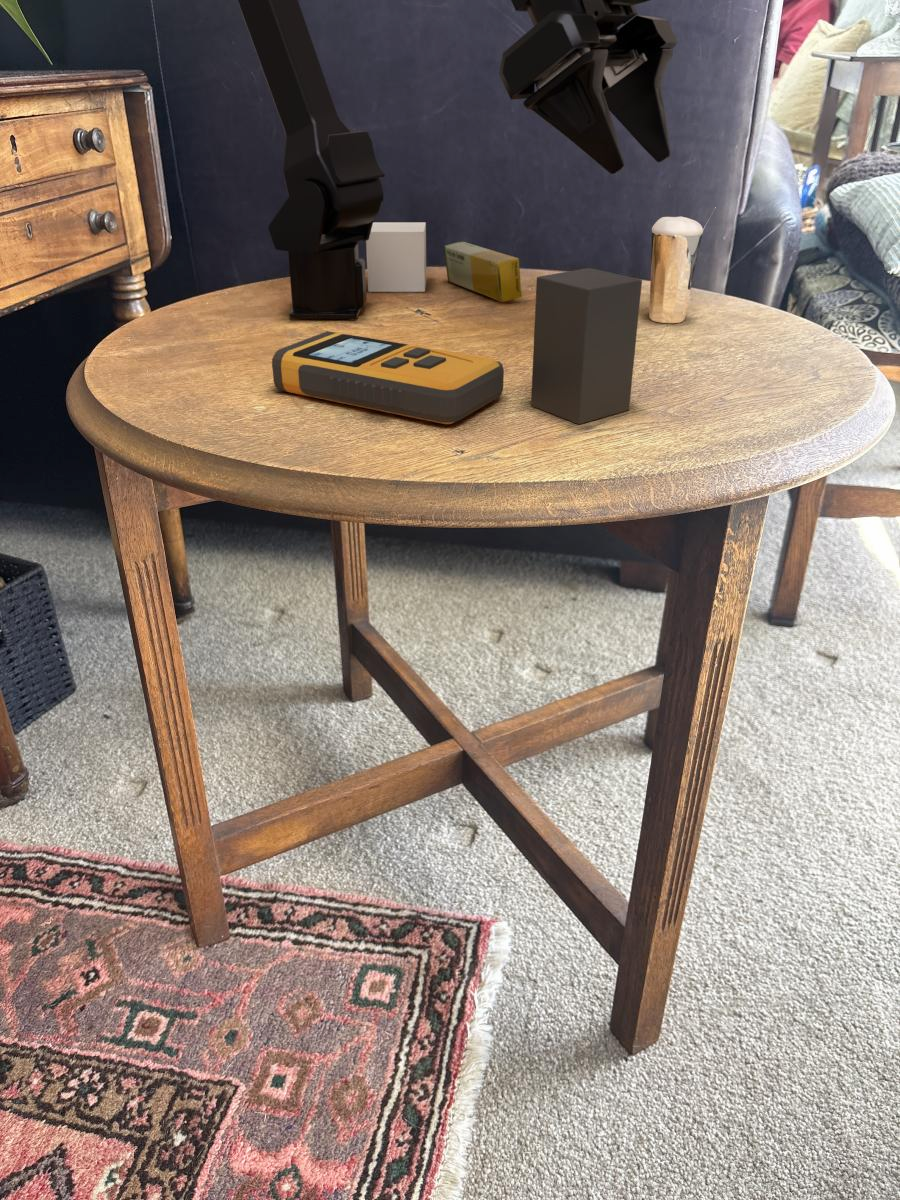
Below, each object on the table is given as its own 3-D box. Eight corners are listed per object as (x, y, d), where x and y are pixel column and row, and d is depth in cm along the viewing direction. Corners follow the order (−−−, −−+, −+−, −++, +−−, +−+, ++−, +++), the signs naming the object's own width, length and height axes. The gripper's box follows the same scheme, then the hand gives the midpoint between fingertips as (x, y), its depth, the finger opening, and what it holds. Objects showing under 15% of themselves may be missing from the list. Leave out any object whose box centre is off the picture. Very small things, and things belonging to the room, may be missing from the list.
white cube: (368, 292, 99) (365, 231, 96) (372, 279, 104) (369, 222, 101) (425, 291, 99) (424, 231, 96) (426, 279, 104) (425, 222, 101)
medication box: (445, 282, 103) (441, 244, 101) (467, 277, 104) (463, 240, 102) (500, 303, 94) (497, 261, 92) (523, 297, 95) (521, 256, 92)
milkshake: (700, 327, 87) (716, 211, 82) (641, 324, 88) (653, 209, 82) (699, 315, 90) (714, 203, 85) (643, 312, 91) (654, 201, 86)
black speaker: (528, 404, 68) (533, 275, 63) (578, 391, 70) (587, 266, 66) (578, 424, 64) (588, 289, 60) (629, 410, 67) (642, 279, 62)
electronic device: (451, 435, 63) (451, 386, 61) (270, 395, 70) (266, 350, 68) (509, 399, 69) (510, 354, 68) (337, 365, 76) (335, 323, 74)
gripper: (585, -149, 55) (697, 106, 58) (691, -110, 69) (777, 95, 72) (450, -19, 62) (555, 201, 65) (570, -8, 76) (653, 174, 79)
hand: (642, 164), depth 70 cm, fingers open, 9 cm apart
